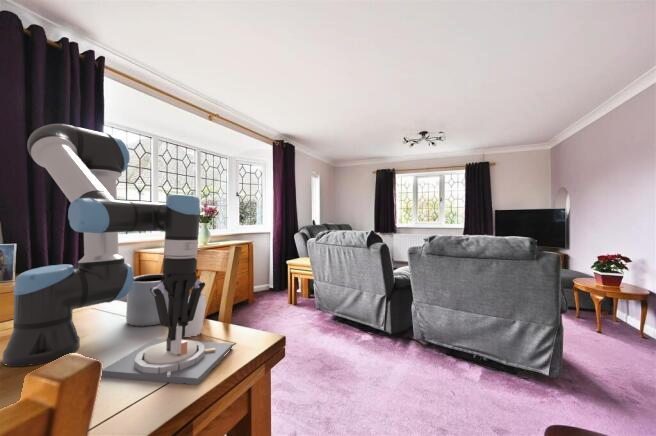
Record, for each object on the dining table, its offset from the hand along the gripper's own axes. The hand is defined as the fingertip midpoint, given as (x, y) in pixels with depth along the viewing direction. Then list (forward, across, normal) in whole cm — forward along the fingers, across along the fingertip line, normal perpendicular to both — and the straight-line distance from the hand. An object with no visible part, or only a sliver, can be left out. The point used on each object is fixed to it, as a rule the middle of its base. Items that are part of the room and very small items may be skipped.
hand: (175, 352), depth 74 cm
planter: (+5, +13, +43) cm, 45 cm away
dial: (+3, +1, +5) cm, 6 cm away
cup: (+5, +15, +20) cm, 25 cm away
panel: (+5, +2, +5) cm, 7 cm away
